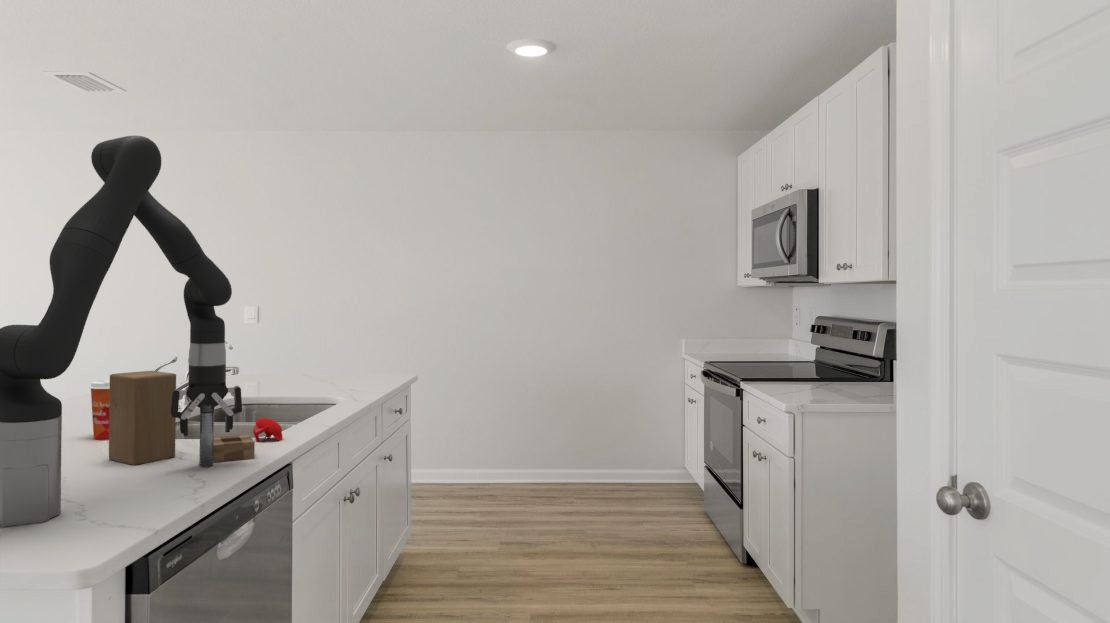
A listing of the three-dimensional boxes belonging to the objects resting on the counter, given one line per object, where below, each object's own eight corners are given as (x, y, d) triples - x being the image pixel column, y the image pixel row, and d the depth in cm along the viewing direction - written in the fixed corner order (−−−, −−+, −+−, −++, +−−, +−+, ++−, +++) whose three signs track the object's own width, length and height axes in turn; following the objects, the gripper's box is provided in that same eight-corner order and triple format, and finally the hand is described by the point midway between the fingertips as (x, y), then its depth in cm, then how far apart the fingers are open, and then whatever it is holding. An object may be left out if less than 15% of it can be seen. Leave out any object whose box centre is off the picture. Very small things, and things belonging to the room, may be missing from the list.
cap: (244, 430, 176) (262, 419, 175) (254, 419, 182) (271, 408, 181) (264, 452, 179) (282, 442, 178) (273, 440, 184) (290, 430, 183)
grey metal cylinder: (214, 466, 152) (215, 405, 151) (199, 467, 150) (200, 405, 150) (212, 463, 154) (213, 403, 154) (198, 465, 153) (199, 404, 152)
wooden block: (107, 459, 155) (108, 373, 155) (150, 451, 164) (151, 370, 164) (133, 465, 150) (134, 377, 150) (176, 457, 159) (177, 373, 159)
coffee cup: (80, 439, 175) (81, 382, 175) (110, 433, 183) (110, 378, 182) (105, 442, 172) (105, 384, 172) (133, 436, 180) (134, 380, 180)
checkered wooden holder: (254, 458, 160) (254, 441, 160) (212, 462, 155) (212, 445, 155) (248, 450, 168) (248, 434, 167) (207, 454, 163) (208, 438, 162)
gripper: (172, 365, 145) (172, 440, 145) (244, 363, 153) (243, 433, 153) (170, 362, 151) (169, 433, 151) (239, 359, 159) (238, 427, 159)
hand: (206, 433), depth 152 cm, fingers open, 8 cm apart
